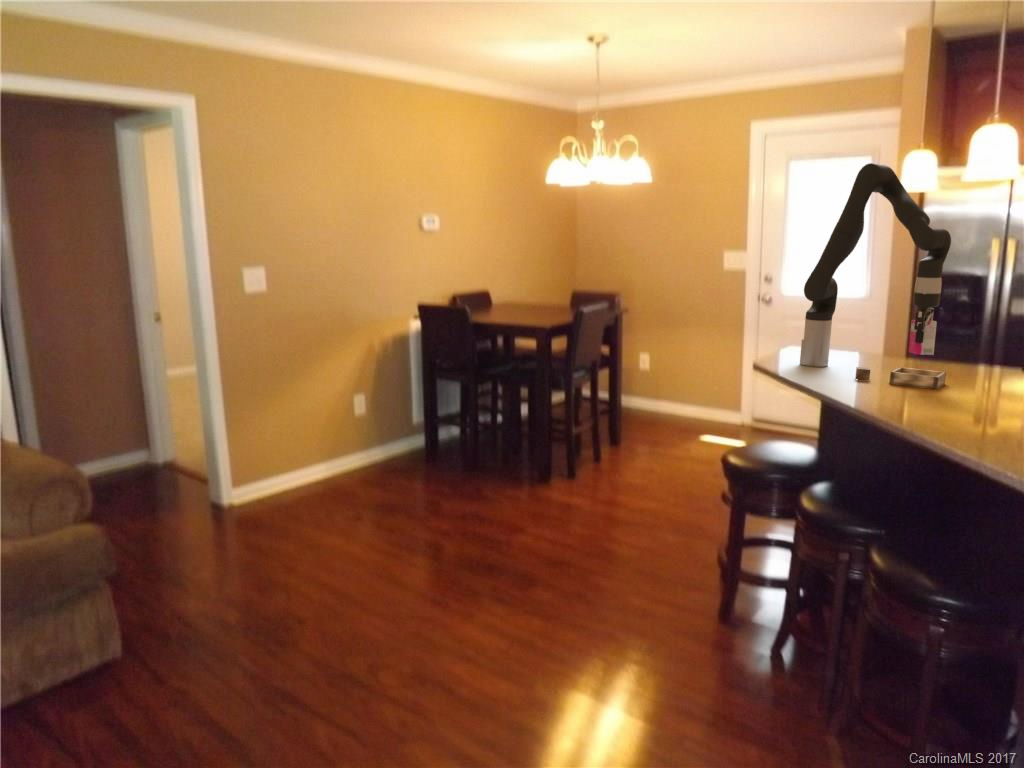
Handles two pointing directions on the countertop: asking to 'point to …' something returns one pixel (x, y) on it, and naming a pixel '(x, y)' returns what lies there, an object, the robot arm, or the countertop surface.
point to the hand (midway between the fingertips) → (921, 341)
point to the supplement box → (928, 340)
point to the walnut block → (862, 373)
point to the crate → (917, 378)
